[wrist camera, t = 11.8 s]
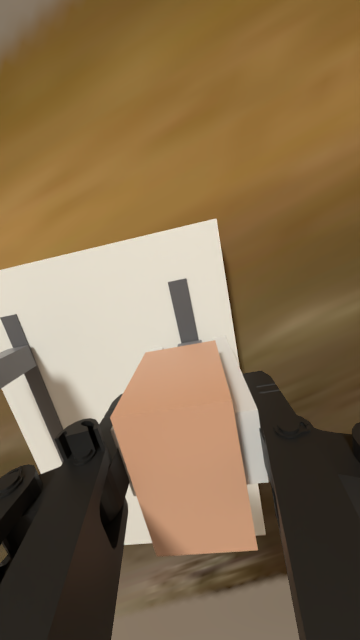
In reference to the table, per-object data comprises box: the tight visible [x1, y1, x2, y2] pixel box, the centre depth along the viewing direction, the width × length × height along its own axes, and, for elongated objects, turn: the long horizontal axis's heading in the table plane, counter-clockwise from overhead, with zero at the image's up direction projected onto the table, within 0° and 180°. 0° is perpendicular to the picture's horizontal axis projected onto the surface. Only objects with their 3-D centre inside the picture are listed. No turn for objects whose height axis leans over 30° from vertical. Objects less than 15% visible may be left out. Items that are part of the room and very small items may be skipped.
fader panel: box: [0, 219, 266, 545], centre depth 18 cm, size 18×26×3 cm
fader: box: [110, 340, 258, 557], centre depth 10 cm, size 3×5×9 cm, turn 12°
